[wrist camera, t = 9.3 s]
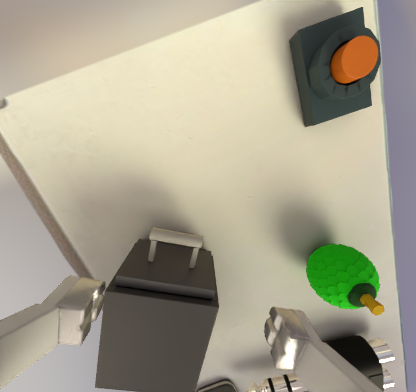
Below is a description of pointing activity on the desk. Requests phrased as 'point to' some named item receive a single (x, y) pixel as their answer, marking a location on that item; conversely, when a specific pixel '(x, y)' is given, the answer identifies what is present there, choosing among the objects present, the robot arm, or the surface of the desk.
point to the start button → (354, 60)
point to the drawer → (169, 266)
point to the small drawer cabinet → (153, 339)
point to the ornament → (344, 278)
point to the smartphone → (219, 387)
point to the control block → (320, 68)
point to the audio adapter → (353, 353)
